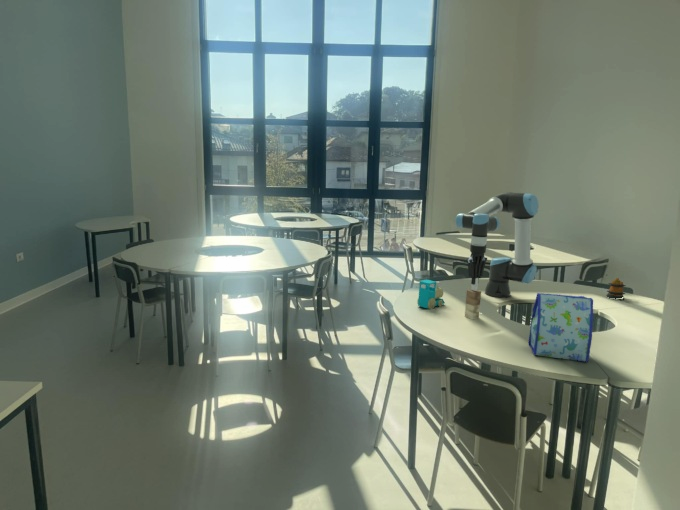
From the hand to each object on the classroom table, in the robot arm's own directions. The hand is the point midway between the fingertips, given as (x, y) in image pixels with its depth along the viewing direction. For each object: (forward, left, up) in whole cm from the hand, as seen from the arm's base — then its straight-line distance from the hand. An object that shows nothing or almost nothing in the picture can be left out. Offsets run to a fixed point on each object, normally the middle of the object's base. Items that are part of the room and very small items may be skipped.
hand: (474, 290), depth 240 cm
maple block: (0, 0, -14) cm, 14 cm away
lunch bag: (+2, +49, -16) cm, 52 cm away
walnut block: (0, 0, -7) cm, 7 cm away
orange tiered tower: (-117, +13, -16) cm, 119 cm away
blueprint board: (-2, -2, -16) cm, 16 cm away
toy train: (+2, -27, -16) cm, 31 cm away
